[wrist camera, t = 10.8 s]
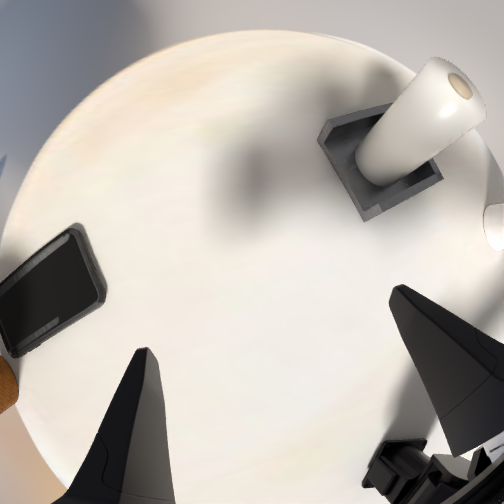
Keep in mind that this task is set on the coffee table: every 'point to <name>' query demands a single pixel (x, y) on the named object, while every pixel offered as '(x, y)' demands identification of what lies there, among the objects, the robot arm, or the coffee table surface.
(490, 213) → the cosmetic bottle
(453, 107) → the paper roll
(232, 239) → the coffee table surface
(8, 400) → the disposable coffee cup
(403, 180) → the tray
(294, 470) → the coffee table surface
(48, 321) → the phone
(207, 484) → the coffee table surface
